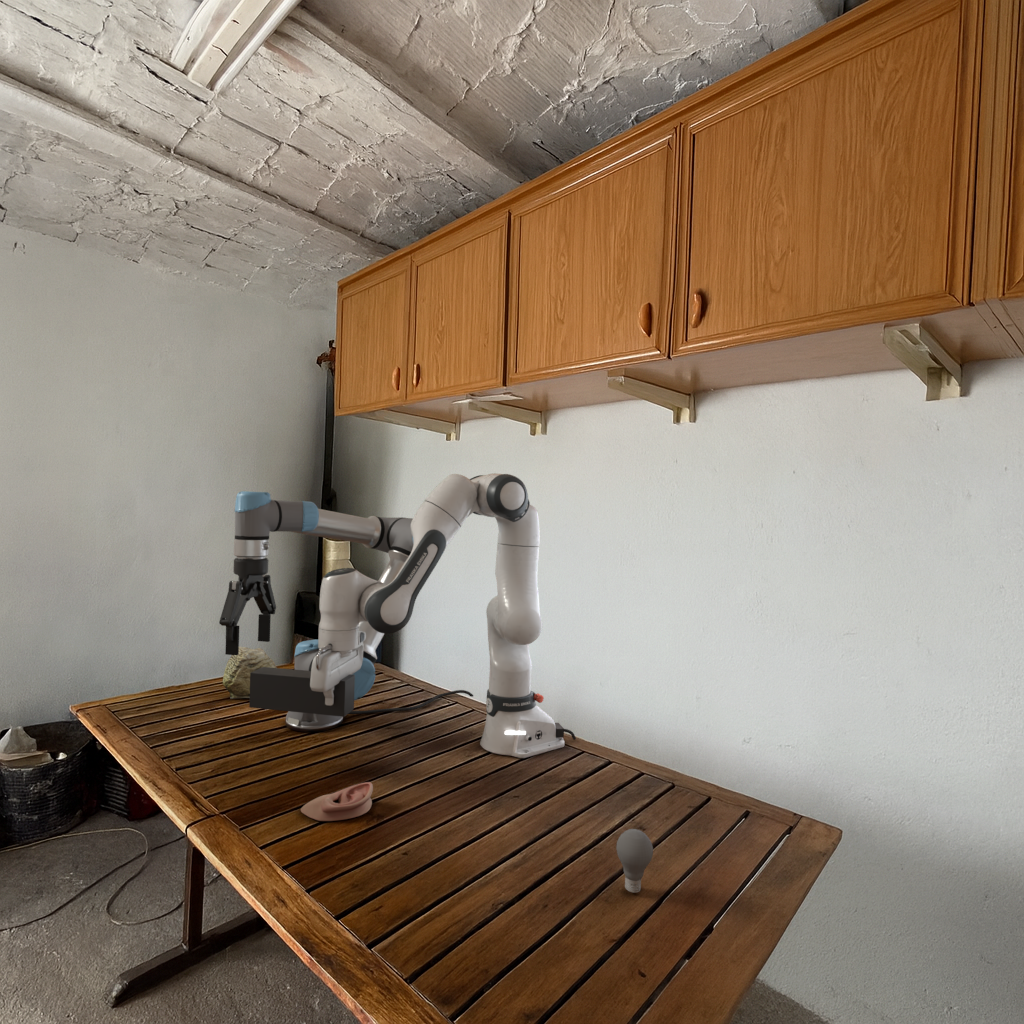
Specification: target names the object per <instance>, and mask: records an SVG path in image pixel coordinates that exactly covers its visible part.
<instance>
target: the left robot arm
mask: <svg viewBox="0 0 1024 1024" xmlns="http://www.w3.org/2000/svg"><path fill="white" fill-rule="evenodd" d="M413 518H414V517H413ZM413 518H412V517H411V518H410V517H401V516H400V517H399V516H398V517H386V516H385V517H384V516H376V515H370V516H368V517H364V516H363V517H362V516H358V515H353V514H348V513H342V512H338V511H332V510H326V509H322V508H319V507H318V506H317V505H316V503H315V502H313V501H307V500H306V501H305V500H286V499H272V497H271V493H270V492H268V491H248V490H247V491H246V490H242V491H239V492H237V494H236V498H235V505H234V538H233V539H234V542H233V543H234V545H233V556H234V557H235V558H234V559H233V571H232V572H233V574H234V575H236V576H238V578H237V580H229V582H228V591H227V595H226V597H225V601H224V604H223V607H222V610H221V613H220V618H219V625H221V626H222V627H223V626H224V627H225V653H224V654H225V655H229V656H231V655H239V647H240V625H238V623H239V621H240V618H241V616H242V615H243V612H244V610H245V607H246V605H247V603H248V602H249V601H251V599H252V598H253V600H254V602H255V603H256V605H257V607H258V610H259V612H260V614H258V623H257V624H258V626H257V627H258V628H257V641H258V642H262V643H263V642H264V643H265V642H266V643H269V642H271V619H272V618H271V615H275V614H276V610H277V603H276V600H275V596H274V592H273V588H272V584H271V580H272V579H271V575H270V574H268V573H269V559H268V558H267V557H268V556H269V549H270V547H271V545H270V532H272V533H275V532H286V533H287V532H289V533H294V534H295V533H296V534H301V535H307V536H313V537H319V538H324V539H325V538H326V539H332V540H339V541H344V542H349V543H355V544H356V543H357V544H362V545H363V546H364V547H365V549H366V548H367V549H371V550H378V551H380V552H383V553H385V554H388V557H389V561H388V563H387V564H386V566H385V568H384V570H383V571H382V573H381V575H380V577H379V579H378V580H377V581H380V582H383V583H386V584H390V583H391V582H392V581H393V580H394V579H395V577H396V575H397V574H398V572H399V571H400V569H401V568H402V566H403V565H404V563H405V562H406V560H407V559H408V557H409V555H410V554H411V552H412V549H413V536H412V533H411V522H412V520H413ZM444 553H445V551H444V552H443V554H444ZM359 630H360V631H363V632H365V633H366V637H365V641H363V644H364V649H363V661H362V666H361V668H360V670H358V671H357V672H355V673H353V674H352V675H355V689H354V701H357V700H359V699H361V698H363V697H364V696H366V695H367V693H369V692H370V690H371V689H372V687H373V686H374V684H375V680H376V677H377V676H376V668H375V666H374V665H375V663H376V661H377V660H378V656H377V651H376V650H377V648H378V646H379V645H380V643H381V641H382V640H383V638H384V635H385V633H380V632H378V631H376V630H375V629H373V628H372V627H371V625H370V624H369V623H368V622H367V621H363V622H360V623H359ZM318 652H319V648H318V639H308V640H303V641H300V642H297V644H296V646H295V650H294V655H293V657H294V669H293V670H305V671H311V669H312V662H313V659H314V657H315V656H316V655H318ZM456 694H465V695H468V696H469V697H474V694H473V693H471V691H468V690H464V689H457V690H452V691H448V692H443V693H439V694H436V695H435V696H434V697H431V699H428V700H426V701H424V702H421V704H418V705H414V706H408V707H392V708H380V709H371V710H370V709H368V710H352V711H351V712H350V713H348V714H347V715H368V714H379V713H389V712H390V713H391V712H408V711H409V712H410V711H414V710H418V709H420V708H423V707H425V706H427V705H429V704H431V703H433V702H434V701H436V700H438V699H439V698H443V697H447V696H451V695H456ZM343 722H344V717H342V716H331V715H321V714H311V713H301V712H291V711H287V713H286V715H285V726H286V728H287V729H289V730H291V731H294V732H295V731H296V732H301V733H316V732H325V731H329V730H332V729H335V728H337V727H339V726H340V725H342V723H343Z"/></svg>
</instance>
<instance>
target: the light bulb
mask: <svg viewBox="0 0 1024 1024" xmlns="http://www.w3.org/2000/svg"><path fill="white" fill-rule="evenodd" d="M615 849H616V854H617V857H618V859H619V861H620V863H621V865H622V867H623V873H624V874H623V875H624V876H625V878H624V888H625V890H627V891H628V892H630V893H634V894H635V893H639V892H640V891H641V889H642V887H641V886H642V879H643V877H644V875H645V871H646V868H647V867H648V866H649V864H650V863H651V861H652V859H653V855H654V847H653V843H652V841H651V838H649V836H648V835H647V834H646V833H645V832H643V831H642V830H641V829H636V828H629V829H627V830H625V831H623V832H622V833H621V834H620V835H619V837H618V839H617V841H616V847H615Z"/></svg>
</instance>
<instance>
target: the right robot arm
mask: <svg viewBox="0 0 1024 1024" xmlns="http://www.w3.org/2000/svg"><path fill="white" fill-rule="evenodd" d="M472 514H474V515H477V516H484V517H488V518H494V519H495V520H496V523H497V528H498V533H497V541H496V542H497V543H496V554H495V555H496V556H495V570H494V572H495V573H494V574H495V579H496V590H497V595H495V596H494V597H492V598H491V599H490V600H489V602H488V604H487V606H486V610H485V611H486V612H485V614H486V623H487V624H486V625H487V641H488V643H487V645H488V653H489V672H488V673H489V674H488V676H489V677H488V689H487V691H486V701H485V712H486V717H485V723H484V728H483V732H482V734H481V735H482V736H481V738H480V741H479V745H480V747H481V748H482V749H484V750H486V751H487V752H490V753H493V754H497V755H503V756H512V757H515V758H519V759H526V758H529V757H533V756H536V755H540V754H544V753H547V752H550V751H554V750H558V749H561V748H564V747H565V746H566V745H565V740H564V737H565V733H568V734H569V735H571V738H572V740H573V741H575V740H576V739H577V738H576V736H575V733H574V732H573V731H572V730H570V729H567V728H564V727H563V726H562V724H560V722H555V719H553V717H552V716H551V715H549V714H548V713H547V712H546V711H544V710H543V709H542V708H541V707H540V706H538V705H537V703H538V704H541V703H543V701H544V699H545V698H544V695H543V694H540V693H536V692H535V691H532V667H533V661H532V658H531V653H530V646H529V645H530V644H532V643H534V642H535V641H536V640H537V639H538V638H539V637H540V635H541V633H542V630H543V619H542V615H541V609H540V593H539V585H538V584H539V583H538V581H539V580H538V573H539V571H538V570H539V557H540V540H541V537H540V535H541V532H540V530H541V529H540V518H539V513H538V510H537V509H536V507H534V506H533V505H532V504H531V503H530V500H529V494H528V489H527V486H526V485H525V483H524V481H522V480H521V478H519V477H517V476H515V475H513V474H510V473H496V472H495V473H489V474H482V475H481V474H480V475H476V476H474V477H471V478H469V477H467V476H465V475H462V474H459V473H452V474H449V475H447V476H446V477H445V478H444V479H442V480H441V481H440V482H439V483H438V484H437V485H436V486H435V487H434V489H433V490H431V492H430V493H428V495H427V497H426V498H425V499H424V501H422V503H421V504H420V506H419V507H418V509H417V510H416V512H415V514H414V516H413V520H412V522H411V533H412V536H413V549H412V552H411V554H410V555H409V557H408V559H407V560H406V562H405V563H404V565H403V566H402V568H401V569H400V571H399V572H398V574H397V575H396V577H395V579H394V580H393V581H392V582H391V583H390V584H386V583H383V582H380V581H378V580H376V579H374V578H371V577H369V576H367V575H365V574H363V573H362V572H360V571H358V569H356V568H354V567H342V568H337V569H333V570H331V571H328V572H327V573H326V574H324V576H323V577H322V579H321V585H320V592H319V606H318V607H319V612H320V621H319V623H318V648H319V652H318V655H316V656H315V657H314V659H313V662H312V669H311V679H310V687H311V690H312V691H317V692H323V693H324V696H325V704H326V705H330V706H331V705H333V704H334V703H335V696H334V694H333V690H334V686H335V685H337V684H338V683H339V682H340V680H342V679H343V678H345V677H346V676H348V675H349V674H351V675H352V674H353V673H355V672H357V671H358V670H360V668H361V666H362V661H363V649H364V644H363V641H365V637H366V633H365V632H363V631H360V630H359V623H360V622H363V621H367V622H368V623H369V624H370V625H371V627H372V628H373V629H375V630H376V631H378V632H380V633H385V634H386V635H388V634H394V633H397V632H398V631H402V629H404V628H405V627H406V626H407V625H408V624H409V622H410V620H411V617H412V616H413V612H414V608H415V603H416V600H417V598H418V596H419V594H420V593H421V590H422V589H423V587H424V586H425V584H426V582H427V581H428V579H429V577H430V576H431V574H432V573H433V571H434V570H435V568H436V566H437V564H438V563H439V561H440V559H441V558H442V556H443V554H444V553H445V551H446V549H447V547H448V546H449V544H450V543H451V541H452V540H453V538H454V537H455V536H456V535H457V533H458V532H459V530H460V529H461V527H462V526H463V524H465V521H466V520H467V518H468V517H470V516H471V515H472ZM443 552H444V553H443ZM385 634H384V635H385ZM536 702H537V703H536Z"/></svg>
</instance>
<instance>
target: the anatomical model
mask: <svg viewBox="0 0 1024 1024" xmlns="http://www.w3.org/2000/svg"><path fill="white" fill-rule="evenodd" d="M373 791H374V784H373V783H372V782H370V781H366V782H361V783H357V784H354V785H351V786H348V787H346V788H343V789H340V790H338V791H335V792H332V793H329V794H328V793H327V794H324V795H321V796H318V797H316V798H314V799H311V800H310V801H308V802H307V803H305V804H304V805H303V806H302V807H301V808H300V812H301V813H302V814H303V815H304V816H307V817H308V818H310V819H312V820H315V821H317V822H333V821H335V822H336V821H344V820H348V819H354V818H356V817H360V816H362V815H365V814H366V813H368V812H369V811H370V809H371V808H372V805H373V800H372V798H371V797H372V795H373Z"/></svg>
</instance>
